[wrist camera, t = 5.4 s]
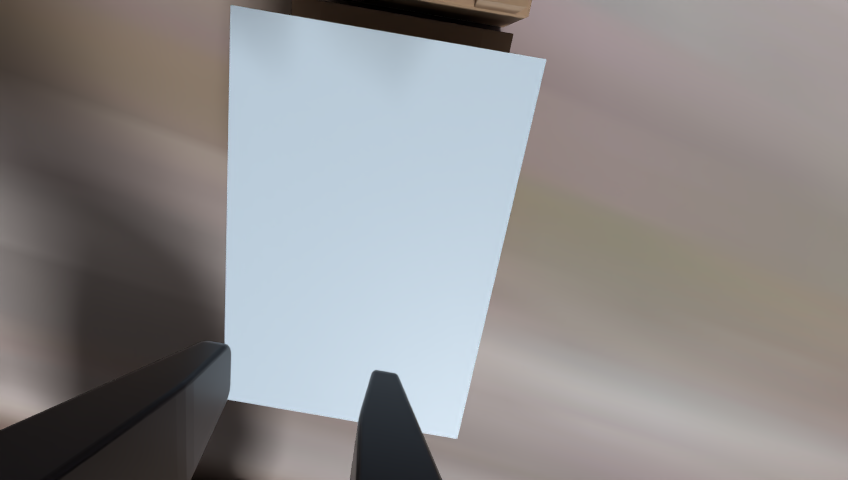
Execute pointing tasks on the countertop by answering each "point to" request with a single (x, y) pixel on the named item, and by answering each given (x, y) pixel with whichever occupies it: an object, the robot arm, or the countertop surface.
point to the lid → (365, 210)
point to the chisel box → (479, 3)
